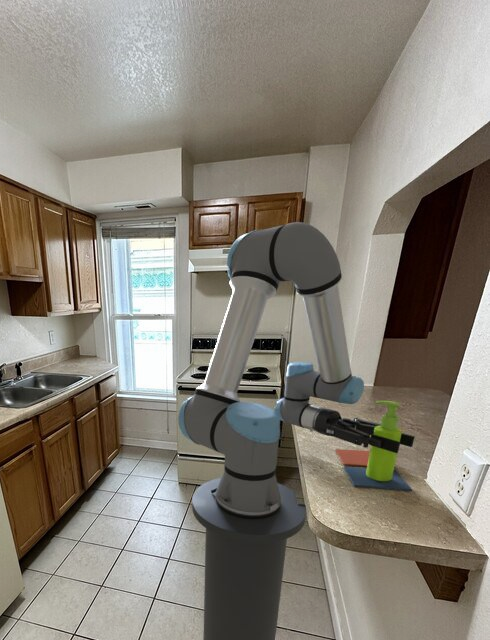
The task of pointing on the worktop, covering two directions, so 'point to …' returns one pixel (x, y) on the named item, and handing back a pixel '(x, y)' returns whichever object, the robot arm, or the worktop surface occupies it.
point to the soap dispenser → (379, 458)
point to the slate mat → (363, 480)
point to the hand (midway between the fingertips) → (405, 444)
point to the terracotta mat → (354, 457)
